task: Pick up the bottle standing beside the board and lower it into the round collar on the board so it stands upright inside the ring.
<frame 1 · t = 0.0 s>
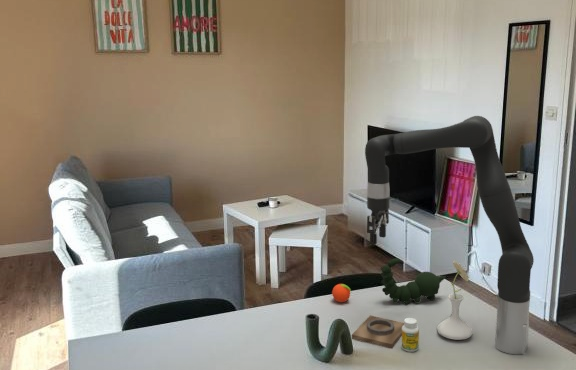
hand: (377, 240, 195), 29 cm above the table, tool pointing down, fingers open, 8 cm apart
toy figurine: (413, 301, 215), on the table
clementine: (342, 302, 216), on the table
collar board: (380, 333, 190), on the table
flower in vase: (454, 334, 189), on the table
supplement bottle: (409, 348, 180), on the table
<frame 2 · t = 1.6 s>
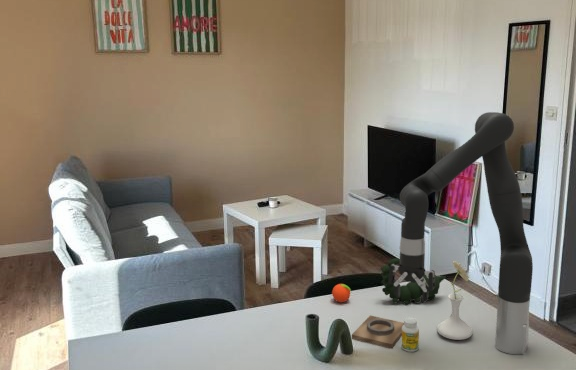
hand: (410, 299, 177), 17 cm above the table, tool pointing down, fingers open, 8 cm apart
nothing on the table moved.
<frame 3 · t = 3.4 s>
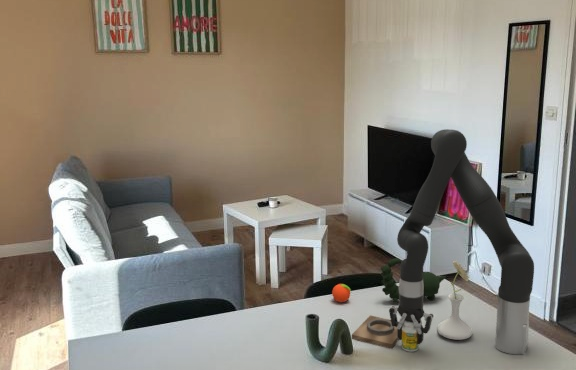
hand: (410, 340, 180), 2 cm above the table, tool pointing down, fingers closed on supplement bottle, 5 cm apart
supplement bottle: (409, 348, 180), on the table, touching gripper
everything else where it was.
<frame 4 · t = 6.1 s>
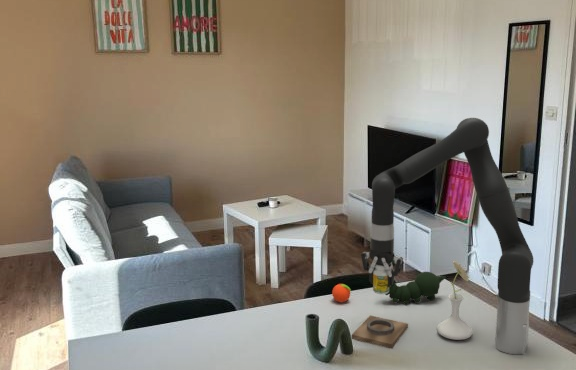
hand: (381, 284, 186), 18 cm above the table, tool pointing down, fingers closed on supplement bottle, 5 cm apart
supplement bottle: (381, 292, 187), point 15 cm above the table, touching gripper
everything else where it was.
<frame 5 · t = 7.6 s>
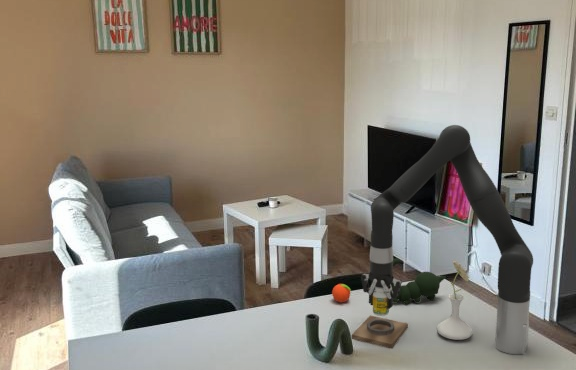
hand: (380, 306, 188), 10 cm above the table, tool pointing down, fingers closed on supplement bottle, 5 cm apart
supplement bottle: (380, 313, 189), point 7 cm above the table, touching gripper
everything else where it was.
when the fingers open (6 cm above the table, at t = 8.9 s): supplement bottle drops 2 cm, resting on collar board.
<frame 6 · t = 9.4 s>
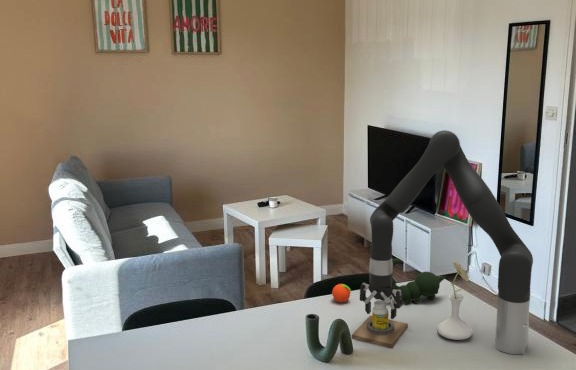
hand: (380, 315, 189), 6 cm above the table, tool pointing down, fingers open, 8 cm apart
supplement bottle: (380, 329, 190), point 1 cm above the table, touching collar board
everything else where it was.
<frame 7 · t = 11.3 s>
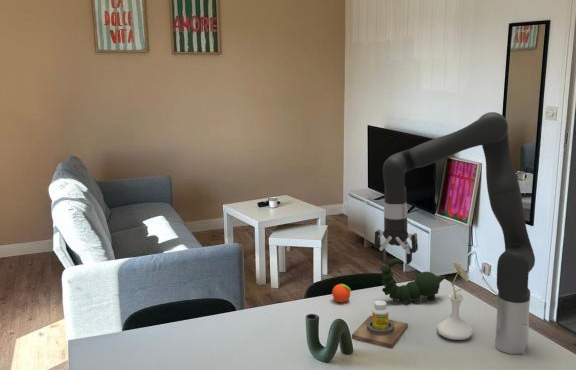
hand: (395, 261, 188), 24 cm above the table, tool pointing down, fingers open, 8 cm apart
nothing on the table moved.
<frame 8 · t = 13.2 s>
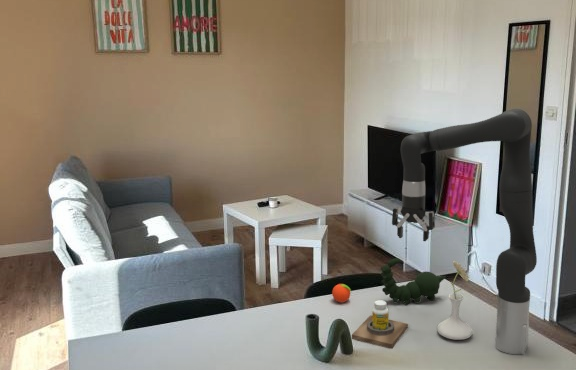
hand: (412, 239, 193), 30 cm above the table, tool pointing down, fingers open, 8 cm apart
nothing on the table moved.
at the end: supplement bottle 0.0 cm off-centre on the collar board, point 1.3 cm above the collar board's base; supplement bottle tilted 0°; the gripper is holding nothing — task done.
